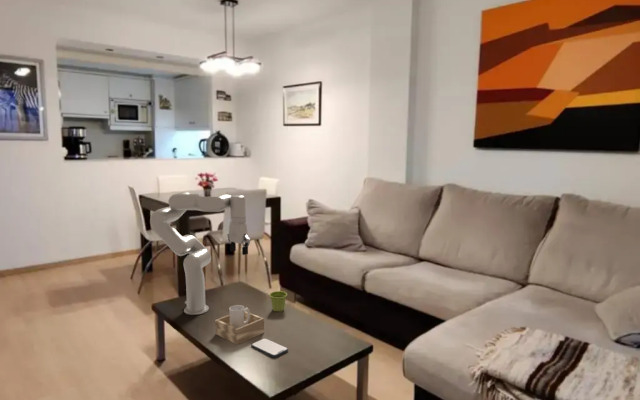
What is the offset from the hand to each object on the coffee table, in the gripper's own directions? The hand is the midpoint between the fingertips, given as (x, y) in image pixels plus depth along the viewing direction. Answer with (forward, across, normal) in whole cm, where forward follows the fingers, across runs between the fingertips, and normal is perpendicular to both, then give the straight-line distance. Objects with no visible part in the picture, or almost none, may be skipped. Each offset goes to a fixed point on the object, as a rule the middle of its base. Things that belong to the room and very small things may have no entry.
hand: (239, 252), depth 216 cm
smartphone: (+34, +38, -15) cm, 53 cm away
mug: (+32, +17, -14) cm, 39 cm away
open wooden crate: (+33, +17, -14) cm, 40 cm away
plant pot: (+34, +10, +18) cm, 39 cm away
